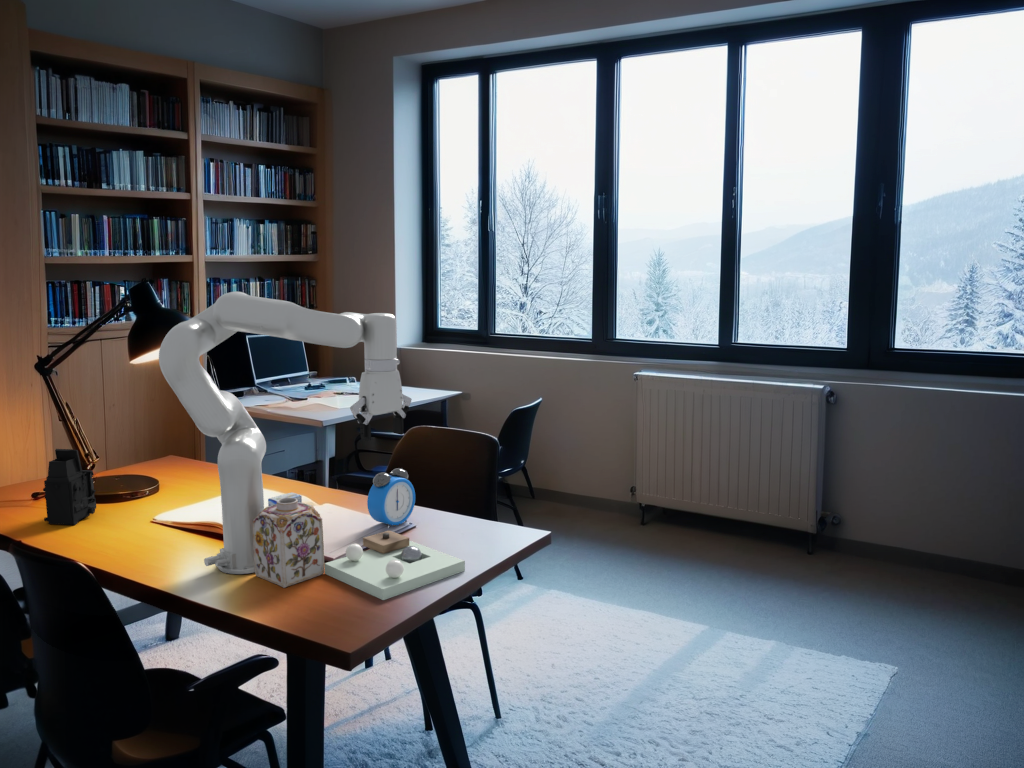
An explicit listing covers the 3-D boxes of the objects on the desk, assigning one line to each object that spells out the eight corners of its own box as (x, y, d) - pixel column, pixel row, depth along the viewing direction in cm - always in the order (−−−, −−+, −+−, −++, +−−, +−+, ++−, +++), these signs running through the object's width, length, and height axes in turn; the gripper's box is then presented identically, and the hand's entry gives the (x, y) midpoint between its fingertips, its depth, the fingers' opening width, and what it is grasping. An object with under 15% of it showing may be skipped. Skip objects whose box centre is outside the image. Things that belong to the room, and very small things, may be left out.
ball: (410, 572, 201) (409, 552, 200) (396, 566, 204) (396, 546, 203) (426, 566, 205) (426, 546, 204) (412, 560, 208) (412, 541, 207)
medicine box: (293, 522, 237) (291, 491, 236) (303, 525, 235) (302, 494, 233) (268, 529, 231) (267, 498, 230) (278, 532, 229) (277, 501, 227)
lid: (383, 553, 205) (383, 541, 205) (363, 545, 210) (362, 533, 210) (409, 545, 211) (409, 533, 210) (389, 537, 216) (388, 526, 216)
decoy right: (393, 582, 188) (393, 564, 188) (382, 577, 191) (381, 560, 190) (407, 577, 191) (407, 560, 191) (396, 572, 194) (396, 555, 193)
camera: (105, 511, 246) (100, 443, 243) (76, 526, 233) (71, 454, 230) (72, 510, 247) (66, 442, 244) (42, 525, 234) (35, 453, 231)
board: (383, 600, 185) (383, 589, 184) (324, 573, 200) (324, 563, 199) (464, 570, 202) (464, 560, 202) (405, 548, 217) (405, 538, 217)
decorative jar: (295, 562, 207) (293, 490, 204) (326, 574, 200) (323, 499, 197) (252, 576, 198) (249, 501, 195) (282, 589, 191) (279, 511, 188)
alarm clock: (382, 531, 229) (381, 477, 227) (366, 527, 233) (365, 473, 231) (416, 519, 240) (415, 467, 237) (400, 515, 243) (399, 464, 241)
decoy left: (352, 564, 199) (352, 548, 198) (342, 560, 201) (342, 544, 201) (366, 560, 201) (366, 544, 201) (356, 556, 204) (356, 540, 204)
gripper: (399, 361, 211) (400, 429, 214) (341, 367, 199) (343, 440, 202) (419, 363, 206) (420, 433, 209) (360, 371, 194) (362, 445, 196)
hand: (382, 436), depth 205 cm, fingers open, 9 cm apart
